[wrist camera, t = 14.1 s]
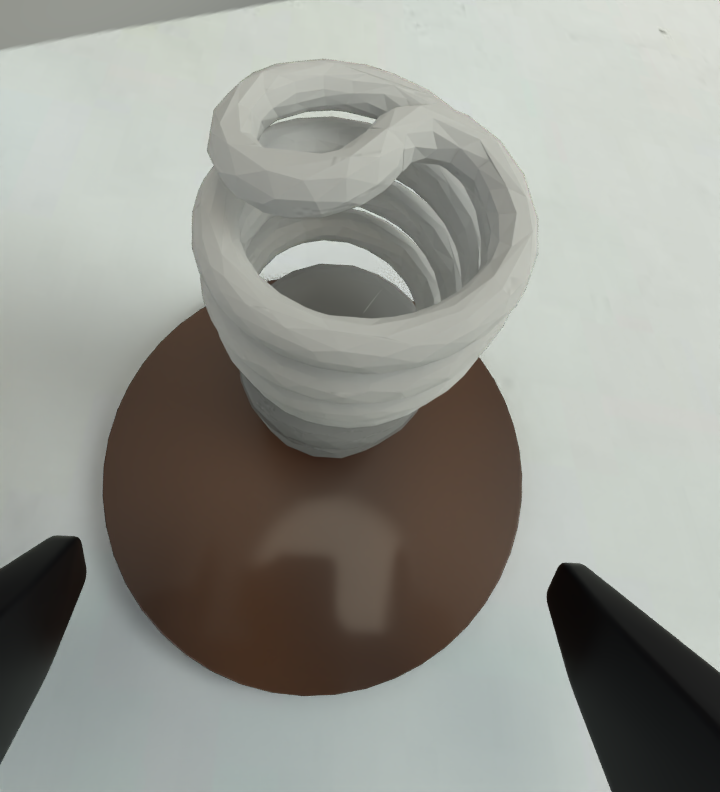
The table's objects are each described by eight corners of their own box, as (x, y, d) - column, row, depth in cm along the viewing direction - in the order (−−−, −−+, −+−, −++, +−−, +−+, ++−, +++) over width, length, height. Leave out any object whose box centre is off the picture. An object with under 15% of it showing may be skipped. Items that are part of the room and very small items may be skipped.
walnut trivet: (201, 793, 13) (197, 804, 13) (53, 361, 17) (45, 355, 16) (586, 555, 17) (596, 556, 17) (405, 239, 20) (408, 231, 20)
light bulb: (236, 468, 16) (83, 289, 4) (262, 324, 18) (202, -67, 6) (394, 487, 16) (618, 370, 5) (404, 346, 18) (589, 21, 7)
